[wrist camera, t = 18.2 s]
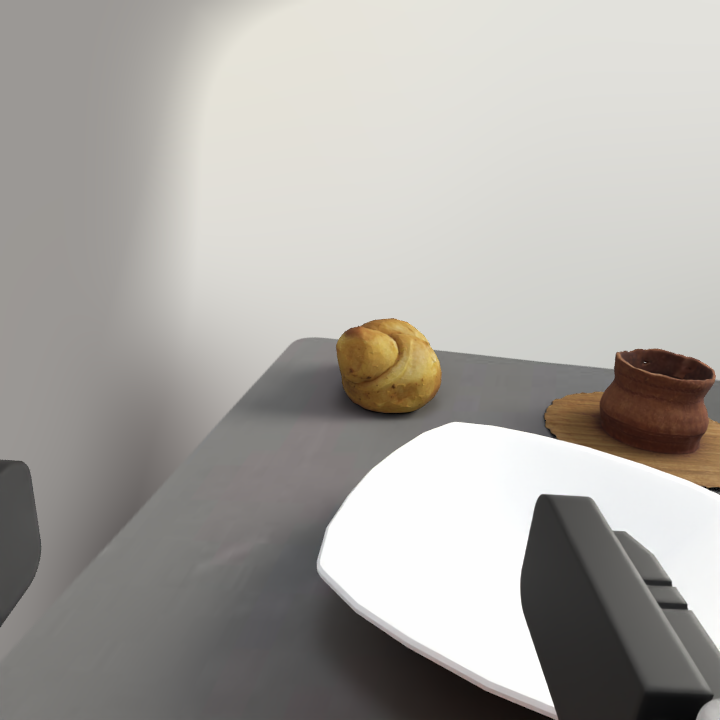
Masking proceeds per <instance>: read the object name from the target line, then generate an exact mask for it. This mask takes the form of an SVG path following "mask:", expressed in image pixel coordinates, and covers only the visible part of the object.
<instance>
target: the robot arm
mask: <svg viewBox="0 0 720 720" xmlns="http://www.w3.org/2000/svg"><path fill="white" fill-rule="evenodd" d="M40 555H41V539H40V534H39V526H38V520H37V513H36V506H35V499H34V494H33V486H32V479H31V475H30V470H29V468H28V466H27V465H26V464H25V463H24V462H22V461H12V460H0V627H1V625H2V624H3V622H4V621H5V620H6V618H7V617H8V615H9V614H10V613H11V611H12V610H13V608H14V607H15V606H16V604H17V603H18V601H19V600H20V599H21V597H22V596H23V594H24V593H25V591H26V590H27V589H28V587H29V586H30V584H31V583H32V581H33V579H34V577H35V574H36V572H37V569H38V565H39V561H40ZM520 597H521V605H522V610H523V614H524V617H525V620H526V623H527V626H528V629H529V632H530V635H531V638H532V641H533V644H534V647H535V650H536V653H537V656H538V659H539V662H540V665H541V668H542V671H543V674H544V677H545V680H546V683H547V686H548V689H549V692H550V695H551V698H552V701H553V704H554V707H555V710H556V713H557V716H558V719H559V720H720V651H719V650H718V648H717V647H716V645H715V644H714V642H713V641H712V639H711V638H710V636H709V635H708V633H707V632H706V630H705V629H704V628H703V626H702V625H701V623H700V622H699V620H698V619H697V617H696V616H695V614H694V613H693V611H692V610H688V607H687V605H688V604H687V603H686V601H685V600H684V598H683V597H682V595H681V594H680V592H679V591H678V589H677V588H676V587H673V586H672V580H671V579H670V577H669V576H668V575H667V573H666V572H665V570H664V569H663V567H662V566H661V564H660V563H659V561H658V560H657V558H656V557H655V555H654V554H653V553H651V552H650V551H649V550H648V549H646V548H645V547H644V546H643V545H642V544H640V543H639V542H638V541H637V540H635V539H634V538H633V537H632V536H630V535H629V534H628V533H627V532H626V531H613V530H612V529H611V527H610V526H609V524H608V522H607V521H606V519H605V517H604V516H603V514H602V513H601V511H600V509H599V508H598V506H597V505H596V503H595V502H594V500H593V499H592V498H590V497H586V496H569V495H553V494H541V495H540V496H539V497H538V499H537V501H536V504H535V508H534V512H533V517H532V522H531V527H530V531H529V536H528V541H527V546H526V550H525V555H524V560H523V565H522V569H521V576H520Z"/></svg>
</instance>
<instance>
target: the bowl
mask: <svg viewBox="0 0 720 720" xmlns="http://www.w3.org/2000/svg"><path fill="white" fill-rule="evenodd" d="M541 494H553V495H569V496H586V497H590V498H592V499H593V500H594V502H595V503H596V505H597V506H598V508H599V509H600V511H601V513H602V514H603V516H604V517H605V519H606V521H607V522H608V524H609V526H610V527H611V529H612V530H613V531H626V532H627V533H628V534H629V535H630V536H632V537H633V538H634V539H635V540H637V541H638V542H639V543H640V544H642V545H643V546H644V547H645V548H646V549H648V550H649V551H650V552H651V553H653V554H654V555H655V557H656V558H657V560H658V561H659V563H660V564H661V566H662V567H663V569H664V570H665V572H666V573H667V575H668V576H669V577H670V579H671V580H672V586H673V587H676V588H677V589H678V591H679V592H680V594H681V595H682V597H683V598H684V600H685V601H686V603H687V604H688V605H687V607H688V610H692V611H693V613H694V614H695V616H696V617H697V619H698V620H699V622H700V623H701V625H702V626H703V628H704V629H705V630H706V632H707V633H708V635H709V636H710V638H711V639H712V641H713V642H714V644H715V645H716V647H717V648H718V650H719V651H720V495H718V494H716V493H714V492H712V491H709V490H707V489H705V488H703V487H701V486H698V485H696V484H694V483H692V482H690V481H687V480H684V479H682V478H679V477H676V476H673V475H671V474H668V473H665V472H662V471H659V470H657V469H654V468H651V467H648V466H646V465H643V464H640V463H636V462H633V461H630V460H627V459H624V458H620V457H617V456H614V455H611V454H608V453H604V452H601V451H598V450H595V449H592V448H589V447H585V446H581V445H577V444H573V443H568V442H564V441H560V440H556V439H552V438H548V437H544V436H540V435H536V434H531V433H526V432H521V431H516V430H511V429H506V428H501V427H496V426H488V425H479V424H470V423H461V422H453V423H449V424H446V425H444V426H441V427H438V428H435V429H433V430H430V431H427V432H424V433H423V434H421V435H419V436H418V437H416V438H415V439H413V440H411V441H410V442H408V443H407V444H405V445H403V446H402V447H400V448H399V449H397V450H396V451H394V452H393V453H392V454H390V455H389V456H388V457H386V458H385V459H384V460H383V461H381V462H380V463H379V464H377V465H376V466H375V467H374V468H372V469H371V470H370V471H369V472H368V473H367V474H366V475H365V477H364V478H363V479H362V480H361V481H360V482H359V483H358V485H357V486H356V487H355V488H354V489H353V490H352V492H351V493H350V494H349V495H348V496H347V498H346V499H345V501H344V502H343V504H342V505H341V507H340V508H339V510H338V511H337V513H336V514H335V516H334V517H333V519H332V520H331V522H330V523H329V525H328V526H327V528H326V531H325V535H324V538H323V542H322V545H321V549H320V553H319V556H318V560H317V572H318V573H319V575H320V577H321V578H322V579H323V580H324V581H325V582H326V583H327V584H328V585H329V586H330V587H331V588H332V589H333V590H334V591H335V592H336V593H337V594H338V595H339V596H340V597H341V598H342V599H343V600H344V601H345V602H346V603H347V604H348V605H349V606H350V607H351V608H352V609H353V610H354V611H355V612H356V613H357V614H359V615H360V616H362V617H363V618H365V619H366V620H368V621H369V622H371V623H372V624H374V625H375V626H377V627H378V628H380V629H381V630H383V631H384V632H385V633H387V634H388V635H390V636H391V637H393V638H394V639H396V640H397V641H399V642H400V643H402V644H403V645H405V646H406V647H408V648H410V649H411V650H413V651H415V652H417V653H419V654H420V655H422V656H424V657H426V658H428V659H429V660H431V661H433V662H435V663H437V664H438V665H440V666H442V667H444V668H446V669H447V670H449V671H451V672H453V673H455V674H456V675H458V676H460V677H462V678H464V679H465V680H467V681H469V682H471V683H473V684H474V685H476V686H478V687H480V688H482V689H483V690H485V691H487V692H490V693H492V694H494V695H497V696H499V697H502V698H504V699H507V700H509V701H511V702H514V703H516V704H519V705H521V706H523V707H526V708H528V709H531V710H533V711H536V712H538V713H540V714H543V715H545V716H548V717H550V718H552V719H555V720H559V719H558V716H557V713H556V710H555V707H554V704H553V701H552V698H551V695H550V692H549V689H548V686H547V683H546V680H545V677H544V674H543V671H542V668H541V665H540V662H539V659H538V656H537V653H536V650H535V647H534V644H533V641H532V638H531V635H530V632H529V629H528V626H527V623H526V620H525V617H524V614H523V610H522V605H521V597H520V576H521V569H522V565H523V560H524V555H525V550H526V546H527V541H528V536H529V531H530V527H531V522H532V517H533V512H534V508H535V504H536V501H537V499H538V497H539V496H540V495H541Z"/></svg>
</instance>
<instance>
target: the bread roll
mask: <svg viewBox="0 0 720 720" xmlns="http://www.w3.org/2000/svg"><path fill="white" fill-rule="evenodd" d="M336 350H337V358H338V364H339V367H340V371H341V375H342V384H343V388H344V390H345V392H346V394H347V395H348V397H349V398H350V399H351V401H353V402H354V403H356V404H358V405H360V406H361V407H363V408H365V409H368V410H371V411H377V412H383V413H403V412H411V411H415V410H417V409H419V408H421V407H423V406H424V405H425V404H427V403H428V402H429V401H430V400H432V399H433V398H434V396H435V395H436V393H437V392H438V389H439V387H440V384H441V368H440V362H439V360H438V358H437V356H436V354H435V353H434V351H433V349H432V348H431V347H430V344H429V342H428V341H427V339H426V338H425V336H424V335H423V334H422V333H420V332H419V331H418V330H417V329H416V328H414V327H413V326H412V325H410V324H409V323H408V322H405V321H400V320H397V319H394V318H391V319H381V320H373V321H370V322H368V323H365V324H363V325H362V326H360V327H359V326H358V327H354V328H350V329H349V330H347V331H345V332H344V333H343V335H342V336H341V337H340V338H339V340H338V342H337V345H336Z"/></svg>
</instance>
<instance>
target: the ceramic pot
mask: <svg viewBox="0 0 720 720" xmlns="http://www.w3.org/2000/svg"><path fill="white" fill-rule="evenodd" d="M644 362H646V363H644ZM614 372H615V379H614V381H613V382H612V383H611V385H610V386H609V387H608V388H607V389H606V390H605V392H594V393H589V394H587V393H583V392H582V393H580V394H577V393H576V394H573V395H567V396H565V397H563V398H561V399H555V400H554V401H552V402H553V405H550V406H549V407H548V408H547V413H545V418H544V419H545V420H546V425H545V427H546V428H549V429H550V430H551V433H553V434H555V435H556V436H557V437H556V438H557V439H558V440H560V441H564V442H568V443H573V444H577V445H581V446H585V447H589V448H592V449H595V450H598V451H601V452H604V453H608V454H611V455H614V456H617V457H620V458H624V459H627V460H630V461H633V462H636V463H640V464H643V465H646V466H648V467H651V468H654V469H657V470H659V471H662V472H665V473H668V474H671V475H673V476H676V477H679V478H682V479H684V480H687V481H690V482H692V483H694V484H696V485H698V486H706V487H707V488H711V487H720V423H717V422H716V421H715V422H714V421H712V420H710V418H708V414H707V409H706V407H705V405H704V397H705V395H706V394H707V392H708V391H709V390H710V388H711V387H712V385H713V384H714V382H715V377H716V375H715V372H714V370H713V369H712V368H710V367H709V366H708V365H706V364H704V363H703V362H701V361H700V360H697V359H694V358H692V357H686V356H683V355H680V354H674V353H672V352H668V351H665V350H662V349H648V350H643V349H635V350H633V351H630V352H627V351H624V352H617V353H616V357H615V366H614Z"/></svg>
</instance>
